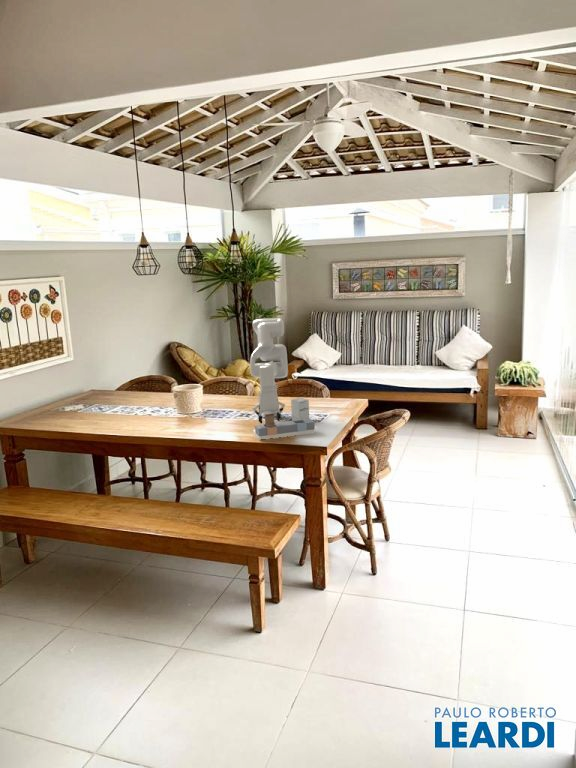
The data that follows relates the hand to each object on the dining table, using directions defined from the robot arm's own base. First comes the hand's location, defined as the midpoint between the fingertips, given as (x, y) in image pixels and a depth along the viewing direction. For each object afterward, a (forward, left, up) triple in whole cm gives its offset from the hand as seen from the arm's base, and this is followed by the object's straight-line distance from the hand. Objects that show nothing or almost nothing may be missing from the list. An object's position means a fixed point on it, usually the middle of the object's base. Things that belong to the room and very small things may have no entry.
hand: (269, 421), depth 309 cm
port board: (-3, +8, -8) cm, 12 cm away
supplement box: (-23, +24, -8) cm, 34 cm away
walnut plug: (0, 0, -6) cm, 6 cm away
